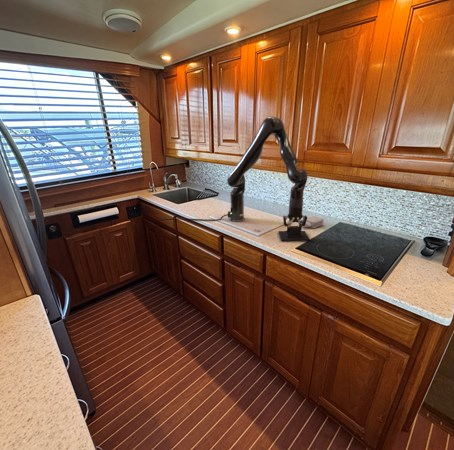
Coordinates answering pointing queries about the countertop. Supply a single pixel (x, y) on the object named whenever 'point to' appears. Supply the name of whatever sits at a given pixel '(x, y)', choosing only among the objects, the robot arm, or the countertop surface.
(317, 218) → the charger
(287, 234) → the base pad
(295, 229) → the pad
